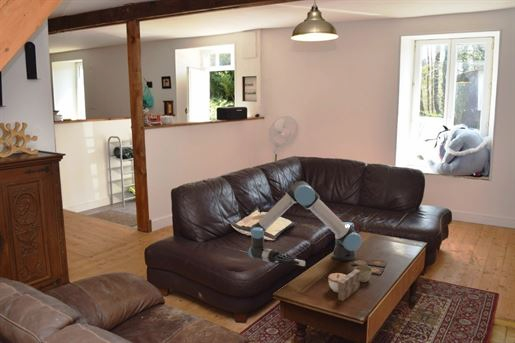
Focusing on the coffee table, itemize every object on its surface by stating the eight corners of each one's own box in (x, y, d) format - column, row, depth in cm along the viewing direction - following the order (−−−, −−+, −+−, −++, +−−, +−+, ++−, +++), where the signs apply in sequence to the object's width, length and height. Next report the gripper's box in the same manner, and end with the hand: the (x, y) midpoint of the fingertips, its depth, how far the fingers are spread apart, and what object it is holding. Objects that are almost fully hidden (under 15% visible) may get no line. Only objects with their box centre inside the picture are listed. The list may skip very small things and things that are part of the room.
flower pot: (372, 277, 264) (373, 266, 263) (371, 284, 255) (371, 272, 253) (355, 276, 267) (355, 264, 266) (353, 282, 258) (353, 270, 257)
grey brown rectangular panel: (354, 286, 253) (355, 269, 252) (359, 287, 252) (360, 270, 250) (338, 299, 238) (338, 281, 236) (343, 300, 236) (343, 282, 234)
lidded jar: (348, 294, 243) (348, 278, 241) (328, 293, 245) (328, 277, 243) (347, 286, 253) (348, 270, 252) (328, 285, 255) (328, 269, 254)
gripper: (277, 258, 280) (310, 266, 265) (265, 265, 269) (298, 273, 255) (277, 246, 278) (310, 253, 264) (264, 253, 268) (298, 261, 254)
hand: (304, 263), depth 260 cm, fingers closed
